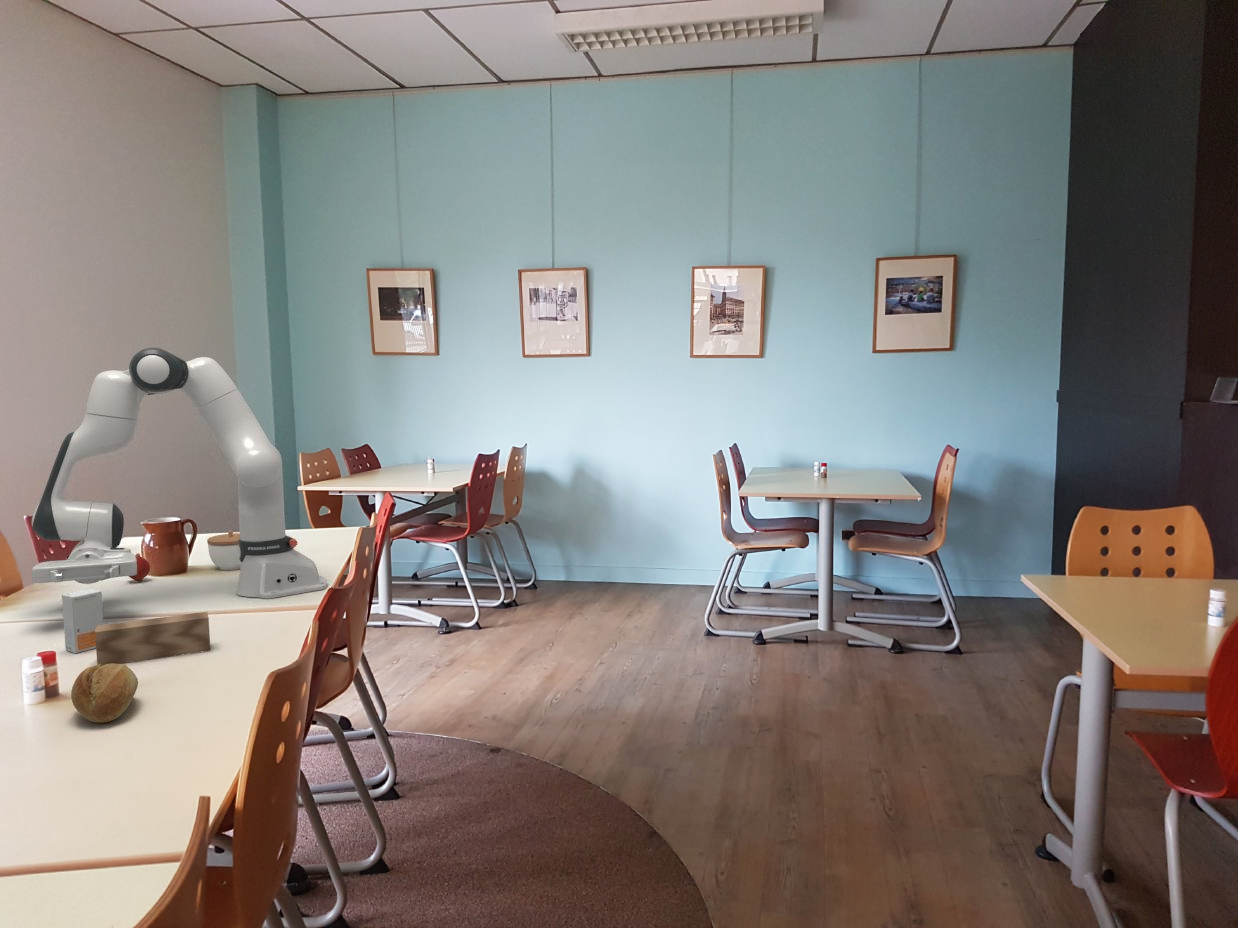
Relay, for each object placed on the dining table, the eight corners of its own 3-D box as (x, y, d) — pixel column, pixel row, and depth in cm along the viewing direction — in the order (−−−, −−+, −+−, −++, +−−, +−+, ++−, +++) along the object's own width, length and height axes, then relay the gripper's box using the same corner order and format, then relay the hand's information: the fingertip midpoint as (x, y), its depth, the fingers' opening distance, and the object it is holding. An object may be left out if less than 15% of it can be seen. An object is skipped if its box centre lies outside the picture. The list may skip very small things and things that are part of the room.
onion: (126, 585, 229) (124, 556, 228) (127, 580, 234) (125, 552, 233) (150, 582, 231) (148, 554, 231) (151, 578, 237) (149, 550, 236)
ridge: (209, 643, 179) (207, 611, 178) (210, 650, 174) (208, 617, 174) (99, 659, 169) (96, 625, 169) (97, 666, 165) (94, 632, 164)
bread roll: (68, 734, 134) (64, 686, 133) (78, 702, 148) (74, 658, 147) (137, 722, 139) (134, 675, 138) (140, 692, 152) (137, 649, 151)
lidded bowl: (264, 565, 251) (262, 529, 250) (225, 574, 240) (223, 536, 239) (239, 560, 258) (237, 525, 257) (200, 569, 247) (197, 532, 246)
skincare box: (75, 654, 173) (70, 597, 171) (65, 650, 175) (60, 594, 174) (106, 645, 178) (102, 590, 176) (95, 642, 180) (91, 587, 179)
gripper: (34, 554, 192) (25, 566, 180) (137, 547, 202) (135, 558, 190) (36, 581, 193) (27, 595, 181) (138, 573, 202) (136, 585, 190)
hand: (83, 576), depth 185 cm, fingers open, 8 cm apart
